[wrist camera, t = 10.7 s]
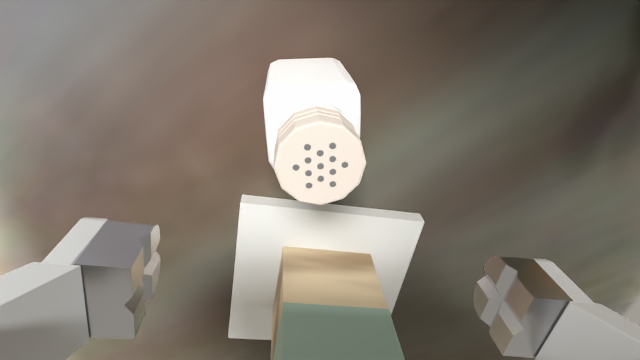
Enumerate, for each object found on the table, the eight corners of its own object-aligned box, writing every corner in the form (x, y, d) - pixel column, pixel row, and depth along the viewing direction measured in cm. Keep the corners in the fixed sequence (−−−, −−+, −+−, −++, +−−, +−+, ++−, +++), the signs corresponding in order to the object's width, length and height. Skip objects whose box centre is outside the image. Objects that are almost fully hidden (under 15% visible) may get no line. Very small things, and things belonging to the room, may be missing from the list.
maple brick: (283, 246, 25) (282, 303, 20) (370, 253, 26) (388, 310, 21) (272, 311, 28) (270, 374, 23) (351, 316, 28) (364, 378, 24)
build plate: (242, 194, 24) (240, 202, 23) (419, 213, 26) (424, 221, 25) (229, 327, 29) (228, 338, 28) (377, 335, 31) (380, 345, 30)
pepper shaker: (273, 128, 22) (266, 218, 14) (267, 57, 20) (255, 112, 12) (340, 125, 22) (375, 211, 14) (341, 55, 20) (381, 106, 12)
